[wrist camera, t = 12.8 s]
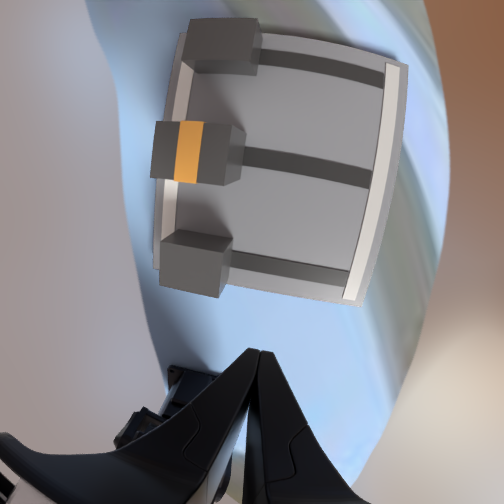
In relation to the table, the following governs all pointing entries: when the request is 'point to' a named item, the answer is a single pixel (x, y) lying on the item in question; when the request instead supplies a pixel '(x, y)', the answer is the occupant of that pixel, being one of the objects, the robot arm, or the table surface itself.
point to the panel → (282, 164)
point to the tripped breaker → (197, 152)
